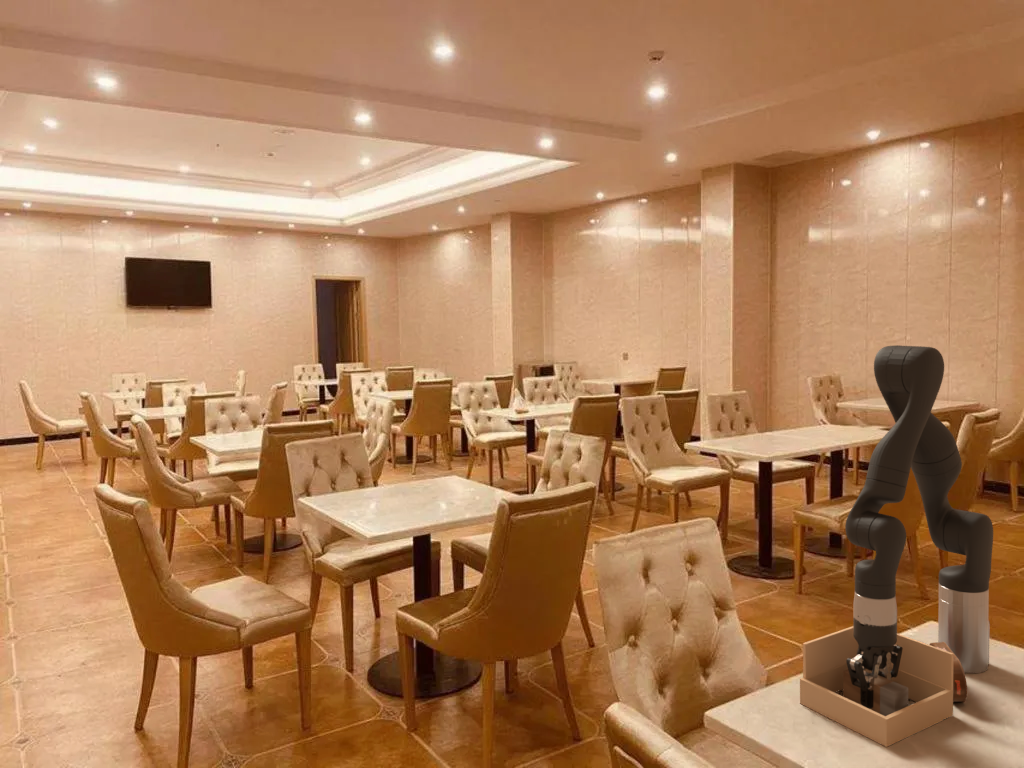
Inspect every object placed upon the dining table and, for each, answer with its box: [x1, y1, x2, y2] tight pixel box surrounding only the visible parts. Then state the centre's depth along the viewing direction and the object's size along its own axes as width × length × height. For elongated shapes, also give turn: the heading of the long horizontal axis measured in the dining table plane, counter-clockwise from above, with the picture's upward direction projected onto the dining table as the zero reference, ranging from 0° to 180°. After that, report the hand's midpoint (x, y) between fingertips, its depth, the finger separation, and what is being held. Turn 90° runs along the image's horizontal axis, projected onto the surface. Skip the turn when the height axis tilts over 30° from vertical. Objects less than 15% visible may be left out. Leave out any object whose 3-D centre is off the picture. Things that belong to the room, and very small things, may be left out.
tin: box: [928, 641, 968, 703], centre depth 155 cm, size 15×3×8 cm, turn 168°
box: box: [842, 669, 909, 716], centre depth 149 cm, size 4×11×6 cm, turn 29°
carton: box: [799, 625, 954, 748], centre depth 149 cm, size 20×19×12 cm
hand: (874, 703), depth 149 cm, fingers closed on box, 4 cm apart
